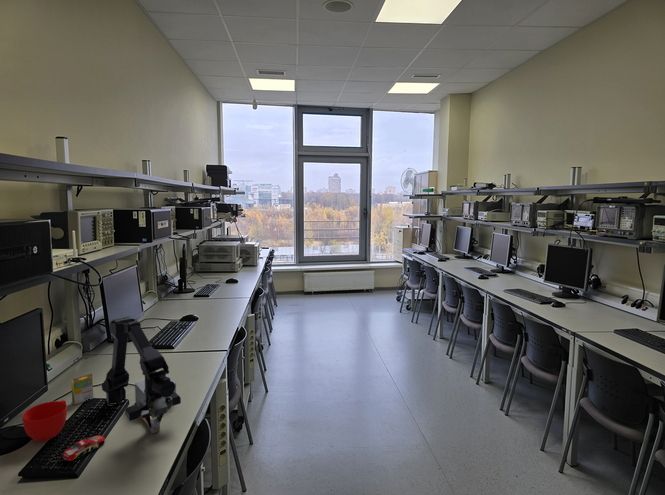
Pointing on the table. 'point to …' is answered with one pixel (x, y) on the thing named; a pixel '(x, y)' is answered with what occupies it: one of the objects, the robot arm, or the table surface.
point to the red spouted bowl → (45, 420)
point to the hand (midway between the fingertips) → (154, 426)
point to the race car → (83, 447)
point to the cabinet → (141, 394)
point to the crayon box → (82, 389)
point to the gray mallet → (154, 424)
